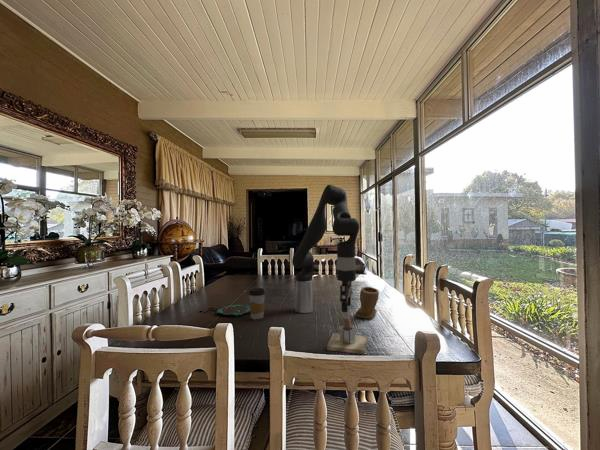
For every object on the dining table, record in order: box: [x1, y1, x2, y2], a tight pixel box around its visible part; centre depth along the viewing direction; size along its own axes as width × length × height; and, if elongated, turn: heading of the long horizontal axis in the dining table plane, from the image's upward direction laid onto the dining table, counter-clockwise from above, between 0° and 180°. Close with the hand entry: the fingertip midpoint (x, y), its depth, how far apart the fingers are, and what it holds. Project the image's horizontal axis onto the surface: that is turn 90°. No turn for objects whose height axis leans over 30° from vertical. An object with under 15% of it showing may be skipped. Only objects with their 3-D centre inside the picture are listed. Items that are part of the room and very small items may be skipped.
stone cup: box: [355, 286, 380, 319], centre depth 151 cm, size 15×12×15 cm
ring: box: [339, 325, 356, 344], centre depth 115 cm, size 6×6×5 cm
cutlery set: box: [216, 304, 251, 317], centre depth 164 cm, size 20×30×2 cm, turn 66°
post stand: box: [326, 316, 368, 355], centre depth 115 cm, size 14×14×10 cm
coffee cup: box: [248, 287, 266, 319], centre depth 150 cm, size 8×8×15 cm
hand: (346, 308), depth 115 cm, fingers open, 8 cm apart
